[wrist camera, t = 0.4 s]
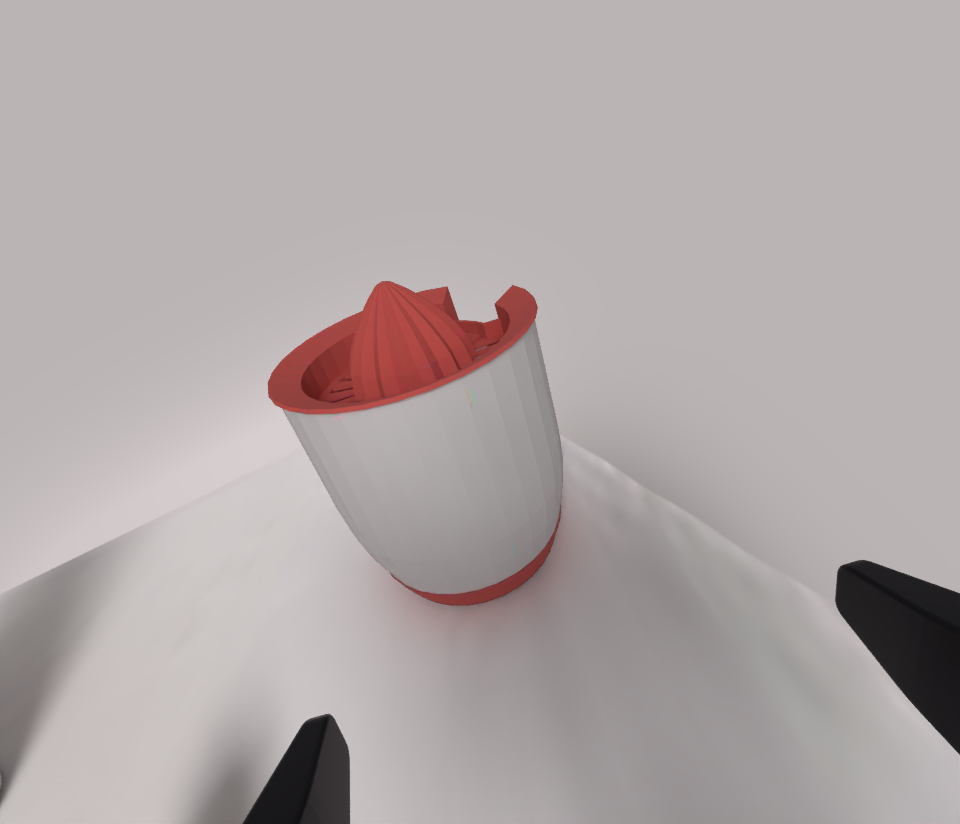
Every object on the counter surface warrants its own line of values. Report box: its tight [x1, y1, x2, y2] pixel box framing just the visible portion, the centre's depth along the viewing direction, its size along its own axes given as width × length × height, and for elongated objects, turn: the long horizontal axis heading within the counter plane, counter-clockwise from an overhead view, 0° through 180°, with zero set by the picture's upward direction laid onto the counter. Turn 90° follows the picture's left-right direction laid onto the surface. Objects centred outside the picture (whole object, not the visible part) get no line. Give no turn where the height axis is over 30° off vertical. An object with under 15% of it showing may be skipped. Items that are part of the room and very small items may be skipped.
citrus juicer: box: [268, 281, 563, 605], centre depth 32 cm, size 16×17×20 cm
